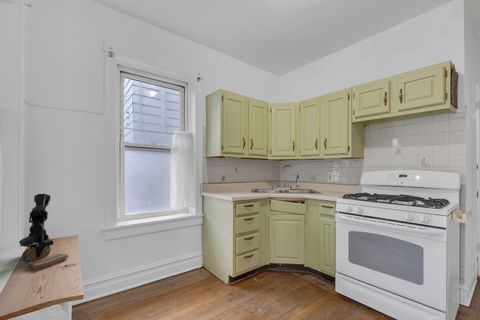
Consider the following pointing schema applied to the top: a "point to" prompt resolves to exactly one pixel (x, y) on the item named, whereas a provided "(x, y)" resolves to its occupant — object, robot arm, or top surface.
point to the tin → (34, 254)
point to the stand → (47, 261)
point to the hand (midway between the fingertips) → (36, 256)
